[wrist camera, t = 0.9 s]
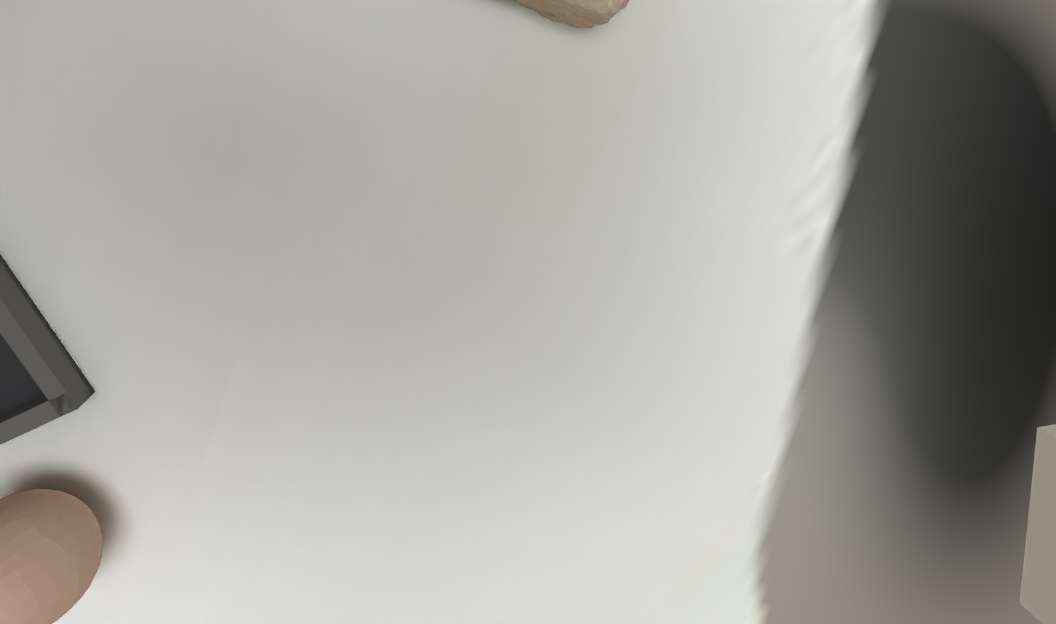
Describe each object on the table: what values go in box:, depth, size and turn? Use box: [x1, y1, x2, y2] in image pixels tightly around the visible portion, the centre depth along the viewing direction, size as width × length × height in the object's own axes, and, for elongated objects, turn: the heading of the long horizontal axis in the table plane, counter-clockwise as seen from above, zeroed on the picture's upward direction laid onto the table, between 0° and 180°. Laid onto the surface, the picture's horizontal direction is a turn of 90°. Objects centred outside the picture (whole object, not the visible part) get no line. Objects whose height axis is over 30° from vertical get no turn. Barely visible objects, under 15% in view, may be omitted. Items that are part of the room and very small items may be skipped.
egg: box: [0, 489, 103, 624], centre depth 32 cm, size 5×5×7 cm
